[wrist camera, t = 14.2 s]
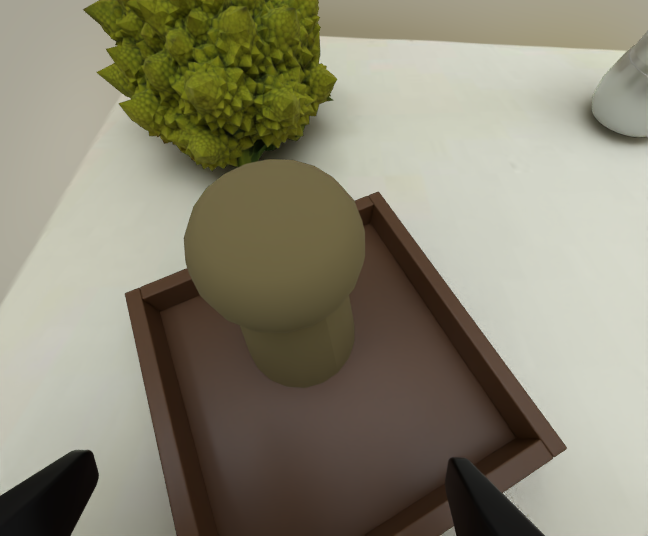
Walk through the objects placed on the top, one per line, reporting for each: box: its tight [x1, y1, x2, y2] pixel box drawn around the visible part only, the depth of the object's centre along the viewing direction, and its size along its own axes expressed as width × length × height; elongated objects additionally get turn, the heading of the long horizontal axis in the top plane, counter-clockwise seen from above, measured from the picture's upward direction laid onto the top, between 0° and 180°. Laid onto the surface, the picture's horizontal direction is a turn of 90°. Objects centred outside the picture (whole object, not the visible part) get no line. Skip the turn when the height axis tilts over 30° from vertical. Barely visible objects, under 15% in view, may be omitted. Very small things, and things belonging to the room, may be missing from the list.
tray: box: [125, 192, 567, 536], centre depth 16 cm, size 16×16×3 cm
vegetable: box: [84, 0, 337, 171], centre depth 22 cm, size 15×16×15 cm
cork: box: [184, 159, 365, 388], centre depth 13 cm, size 6×6×11 cm
